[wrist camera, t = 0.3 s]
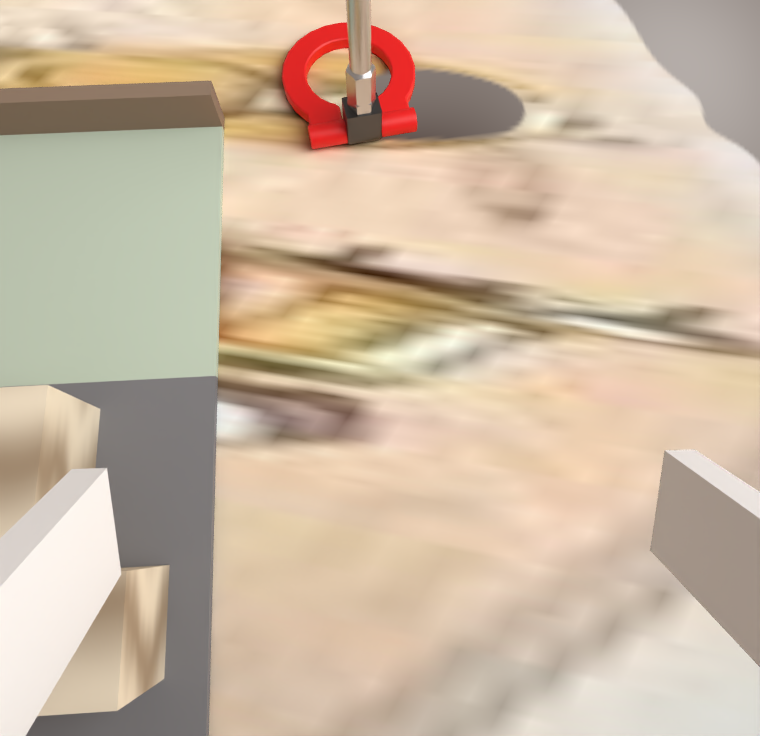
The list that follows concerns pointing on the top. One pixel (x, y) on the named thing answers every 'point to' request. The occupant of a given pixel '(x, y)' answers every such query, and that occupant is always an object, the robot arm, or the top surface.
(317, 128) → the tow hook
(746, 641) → the robot arm
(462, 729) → the top surface
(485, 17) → the top surface
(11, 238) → the mat
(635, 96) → the top surface
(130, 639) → the t block
